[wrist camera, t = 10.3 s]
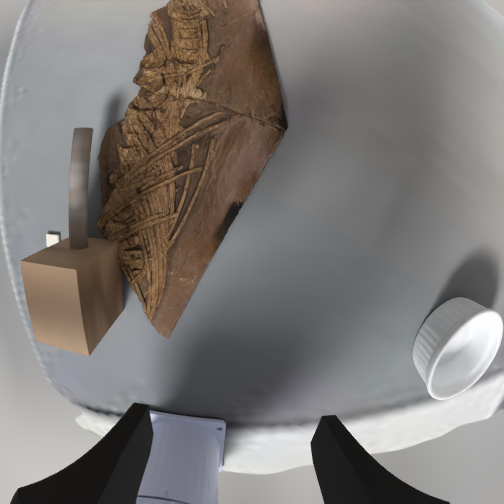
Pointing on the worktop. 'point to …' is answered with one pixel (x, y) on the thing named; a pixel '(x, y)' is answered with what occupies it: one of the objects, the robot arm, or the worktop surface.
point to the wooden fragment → (188, 147)
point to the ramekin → (456, 346)
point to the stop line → (52, 239)
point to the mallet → (74, 272)
